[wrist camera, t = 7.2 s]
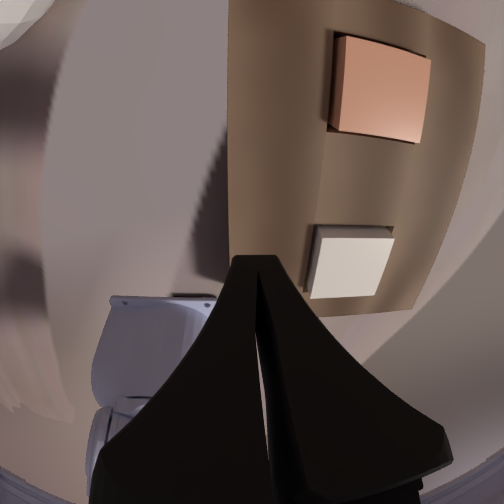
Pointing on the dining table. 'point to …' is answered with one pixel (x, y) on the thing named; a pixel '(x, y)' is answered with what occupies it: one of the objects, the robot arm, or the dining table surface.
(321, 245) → the off white key
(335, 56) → the salmon orange square block
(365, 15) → the key panel
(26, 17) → the cup
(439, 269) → the dining table surface
